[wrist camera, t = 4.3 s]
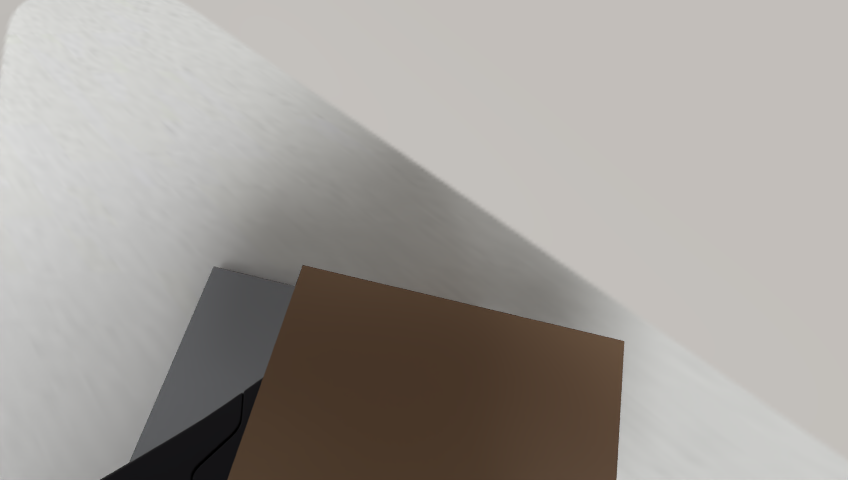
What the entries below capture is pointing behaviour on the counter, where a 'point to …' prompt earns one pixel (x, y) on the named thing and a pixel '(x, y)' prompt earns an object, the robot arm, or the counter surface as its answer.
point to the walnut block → (428, 392)
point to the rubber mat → (218, 352)
